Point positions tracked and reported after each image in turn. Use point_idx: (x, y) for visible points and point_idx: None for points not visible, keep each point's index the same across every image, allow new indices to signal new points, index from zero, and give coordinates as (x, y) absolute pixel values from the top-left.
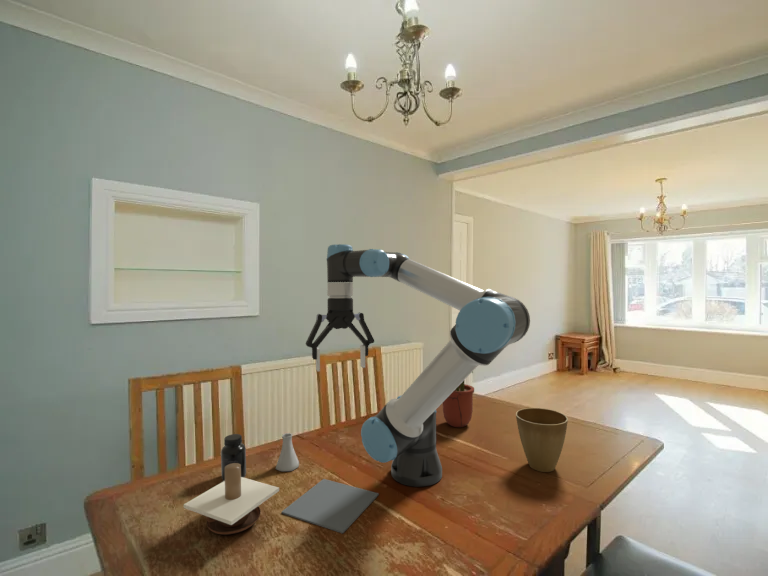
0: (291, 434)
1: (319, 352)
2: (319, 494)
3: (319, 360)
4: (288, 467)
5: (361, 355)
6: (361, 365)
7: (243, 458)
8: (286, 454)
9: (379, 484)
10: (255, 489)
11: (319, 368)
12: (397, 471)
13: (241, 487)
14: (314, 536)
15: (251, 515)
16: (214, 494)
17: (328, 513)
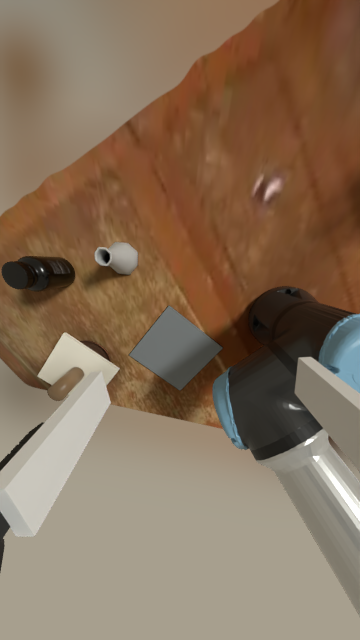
0: (110, 255)
1: (54, 499)
2: (163, 336)
3: (84, 446)
4: (124, 273)
5: (341, 419)
6: (300, 377)
7: (57, 281)
8: (115, 267)
9: (229, 328)
10: (95, 367)
11: (103, 411)
12: (254, 332)
13: (80, 360)
14: (158, 387)
15: (103, 353)
16: (58, 367)
17: (170, 367)
